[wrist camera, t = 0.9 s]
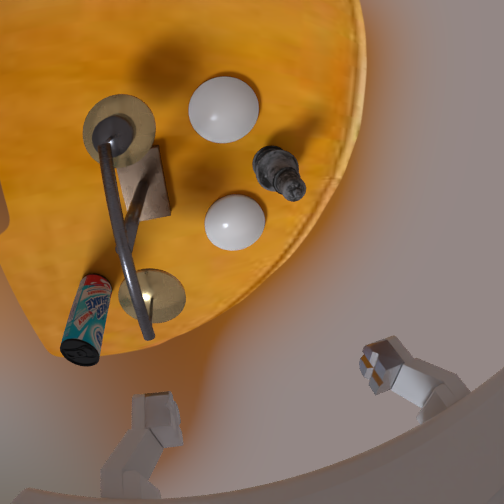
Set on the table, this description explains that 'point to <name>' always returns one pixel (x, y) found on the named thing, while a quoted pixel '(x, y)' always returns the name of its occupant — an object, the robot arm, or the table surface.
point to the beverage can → (87, 321)
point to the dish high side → (234, 222)
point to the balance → (133, 201)
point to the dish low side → (223, 109)
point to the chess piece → (279, 172)
